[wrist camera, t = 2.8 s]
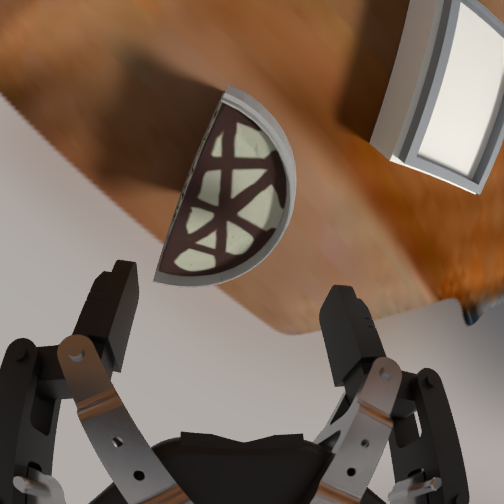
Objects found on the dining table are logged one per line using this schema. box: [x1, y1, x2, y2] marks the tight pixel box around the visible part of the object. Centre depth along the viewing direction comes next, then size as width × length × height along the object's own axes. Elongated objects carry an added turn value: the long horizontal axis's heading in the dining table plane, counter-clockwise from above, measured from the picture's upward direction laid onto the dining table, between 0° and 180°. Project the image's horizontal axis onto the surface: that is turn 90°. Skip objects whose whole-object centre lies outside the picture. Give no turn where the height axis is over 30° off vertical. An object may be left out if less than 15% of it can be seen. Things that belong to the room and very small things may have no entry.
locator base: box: [369, 0, 504, 195], centre depth 16 cm, size 16×11×5 cm, turn 169°
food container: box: [153, 84, 296, 288], centre depth 19 cm, size 12×6×10 cm, turn 155°
